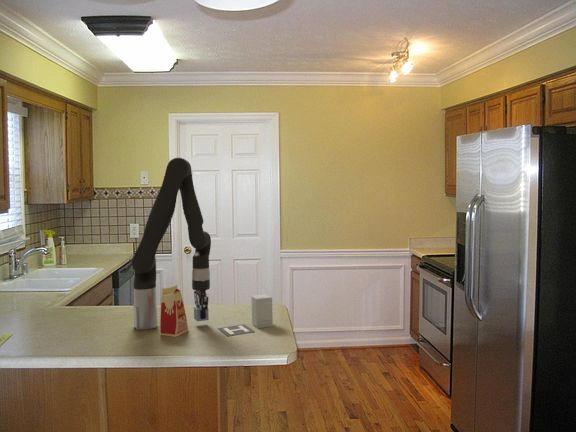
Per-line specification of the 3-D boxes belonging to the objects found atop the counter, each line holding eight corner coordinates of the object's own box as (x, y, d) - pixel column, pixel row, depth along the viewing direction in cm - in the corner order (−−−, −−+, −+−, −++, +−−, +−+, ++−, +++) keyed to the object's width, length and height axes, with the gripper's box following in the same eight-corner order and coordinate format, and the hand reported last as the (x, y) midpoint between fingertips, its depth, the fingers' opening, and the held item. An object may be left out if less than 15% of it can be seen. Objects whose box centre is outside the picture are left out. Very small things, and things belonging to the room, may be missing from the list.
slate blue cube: (197, 321, 221) (197, 309, 220) (194, 318, 225) (193, 307, 225) (208, 320, 223) (208, 308, 223) (205, 317, 228) (205, 305, 227)
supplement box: (273, 326, 221) (272, 297, 220) (256, 328, 219) (255, 299, 218) (267, 321, 228) (267, 293, 227) (251, 323, 226) (250, 295, 225)
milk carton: (188, 330, 218) (186, 283, 216) (176, 337, 209) (175, 288, 208) (169, 328, 221) (167, 282, 219) (157, 335, 212) (155, 286, 211)
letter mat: (227, 336, 209) (227, 335, 209) (217, 328, 219) (217, 328, 219) (255, 331, 214) (255, 331, 214) (244, 324, 225) (244, 324, 225)
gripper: (187, 275, 228) (188, 314, 229) (196, 282, 215) (197, 322, 216) (204, 274, 231) (204, 312, 232) (214, 280, 218) (214, 320, 219)
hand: (201, 316), depth 224 cm, fingers closed on slate blue cube, 5 cm apart
